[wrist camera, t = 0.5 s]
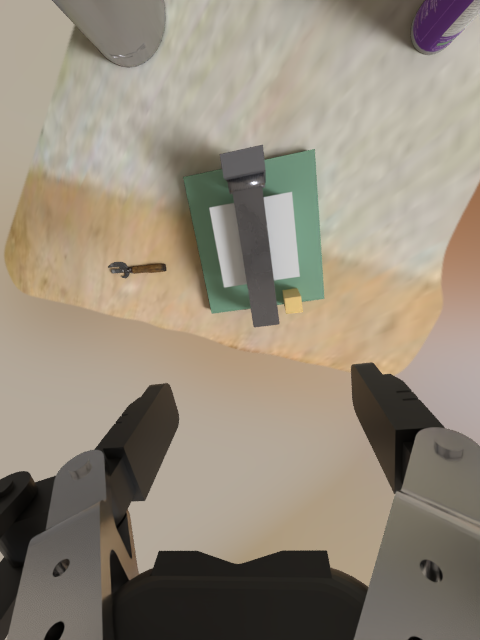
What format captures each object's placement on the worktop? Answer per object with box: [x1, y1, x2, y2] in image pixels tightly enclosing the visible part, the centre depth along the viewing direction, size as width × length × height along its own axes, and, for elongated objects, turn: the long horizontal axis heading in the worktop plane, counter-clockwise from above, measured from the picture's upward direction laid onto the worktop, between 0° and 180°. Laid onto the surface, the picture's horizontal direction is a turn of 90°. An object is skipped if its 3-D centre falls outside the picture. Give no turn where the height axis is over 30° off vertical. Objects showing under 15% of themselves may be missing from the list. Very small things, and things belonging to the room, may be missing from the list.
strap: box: [227, 172, 279, 327], centre depth 31 cm, size 16×4×6 cm, turn 9°
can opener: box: [109, 262, 166, 278], centre depth 38 cm, size 9×2×1 cm, turn 89°
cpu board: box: [183, 145, 324, 314], centre depth 31 cm, size 18×16×10 cm
